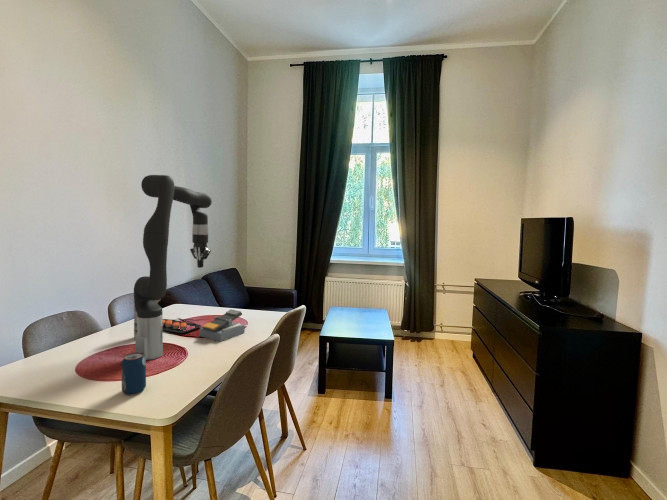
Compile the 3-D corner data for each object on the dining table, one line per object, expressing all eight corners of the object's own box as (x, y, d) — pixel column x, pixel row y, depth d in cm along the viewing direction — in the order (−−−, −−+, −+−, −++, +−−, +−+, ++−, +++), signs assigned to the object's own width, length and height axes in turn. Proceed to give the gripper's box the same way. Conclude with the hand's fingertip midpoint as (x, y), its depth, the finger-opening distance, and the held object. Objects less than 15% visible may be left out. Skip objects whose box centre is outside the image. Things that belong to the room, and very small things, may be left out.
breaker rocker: (214, 333, 162) (213, 328, 162) (202, 330, 166) (202, 325, 165) (242, 315, 178) (241, 311, 177) (231, 312, 182) (230, 309, 181)
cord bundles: (224, 331, 164) (224, 329, 164) (205, 327, 170) (205, 324, 170) (241, 325, 174) (241, 323, 174) (222, 321, 180) (222, 319, 180)
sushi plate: (140, 328, 180) (140, 321, 180) (185, 315, 208) (185, 309, 207) (182, 336, 169) (182, 329, 169) (223, 321, 197) (223, 315, 196)
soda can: (150, 386, 117) (150, 352, 116) (137, 396, 110) (137, 360, 109) (130, 385, 117) (130, 351, 116) (116, 395, 110) (116, 359, 109)
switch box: (220, 341, 162) (220, 324, 161) (200, 336, 169) (200, 319, 168) (244, 332, 176) (244, 317, 175) (224, 328, 183) (224, 313, 182)
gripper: (185, 233, 173) (185, 267, 174) (203, 234, 167) (203, 269, 168) (197, 233, 180) (197, 265, 181) (215, 234, 174) (215, 267, 175)
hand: (200, 267), depth 175 cm, fingers closed
